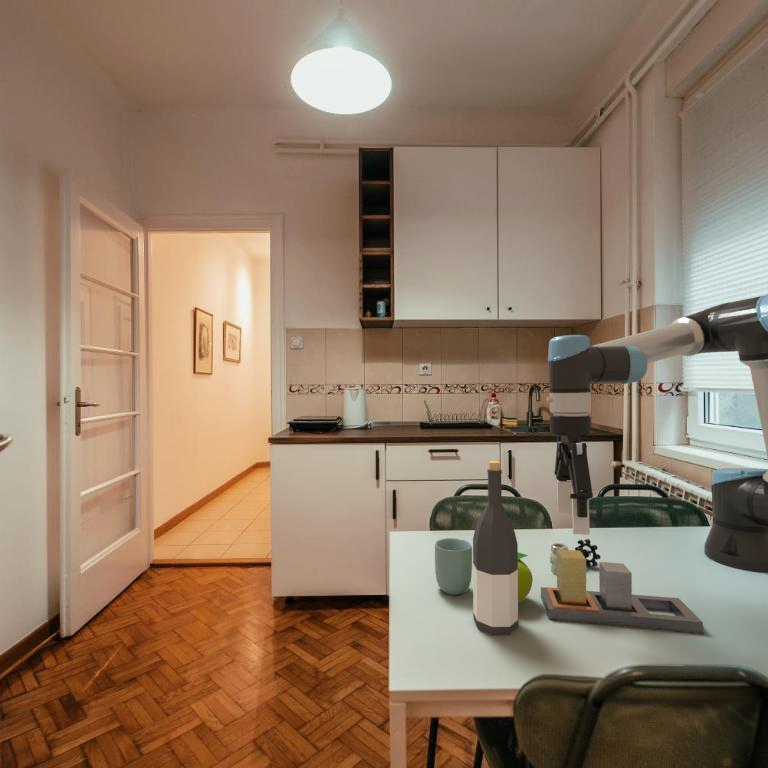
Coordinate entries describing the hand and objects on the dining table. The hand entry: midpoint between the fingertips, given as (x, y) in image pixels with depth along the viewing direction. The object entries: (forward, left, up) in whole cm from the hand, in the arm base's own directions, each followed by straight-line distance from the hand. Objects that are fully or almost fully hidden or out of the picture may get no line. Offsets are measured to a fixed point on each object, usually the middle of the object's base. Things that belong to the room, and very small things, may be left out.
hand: (572, 522), depth 86 cm
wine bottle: (+15, +8, -17) cm, 25 cm away
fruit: (+12, -1, -17) cm, 21 cm away
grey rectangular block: (-8, 0, -17) cm, 19 cm away
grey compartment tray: (-8, 0, -17) cm, 19 cm away
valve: (-4, -20, -18) cm, 27 cm away
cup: (+23, -4, -17) cm, 29 cm away
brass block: (0, 0, -17) cm, 17 cm away
